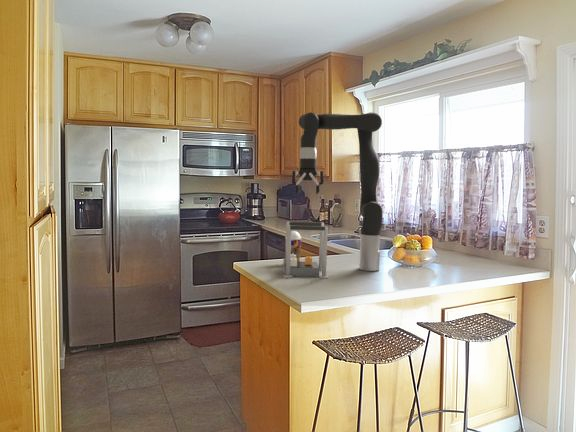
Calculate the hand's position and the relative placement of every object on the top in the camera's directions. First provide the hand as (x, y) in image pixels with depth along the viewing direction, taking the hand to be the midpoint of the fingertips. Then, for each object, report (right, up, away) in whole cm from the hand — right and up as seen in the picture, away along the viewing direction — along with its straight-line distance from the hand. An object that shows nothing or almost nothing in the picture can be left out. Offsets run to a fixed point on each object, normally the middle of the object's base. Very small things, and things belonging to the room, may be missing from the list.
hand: (307, 193), depth 204 cm
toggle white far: (-7, -32, +6) cm, 33 cm away
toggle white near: (-6, -33, -3) cm, 33 cm away
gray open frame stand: (-1, -37, +2) cm, 37 cm away
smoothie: (-7, -35, +20) cm, 41 cm away
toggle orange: (0, -32, +2) cm, 32 cm away
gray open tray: (-3, -37, +2) cm, 37 cm away
